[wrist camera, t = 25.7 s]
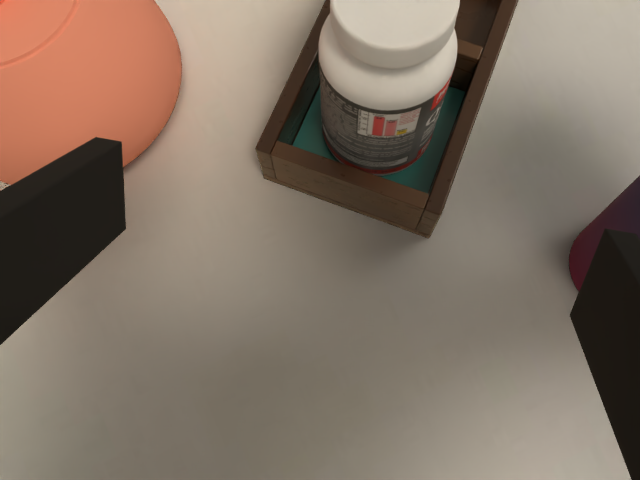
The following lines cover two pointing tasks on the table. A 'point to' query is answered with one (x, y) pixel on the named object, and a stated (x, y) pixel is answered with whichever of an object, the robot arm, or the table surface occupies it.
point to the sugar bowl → (82, 78)
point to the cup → (622, 215)
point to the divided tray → (418, 179)
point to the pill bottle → (384, 79)
